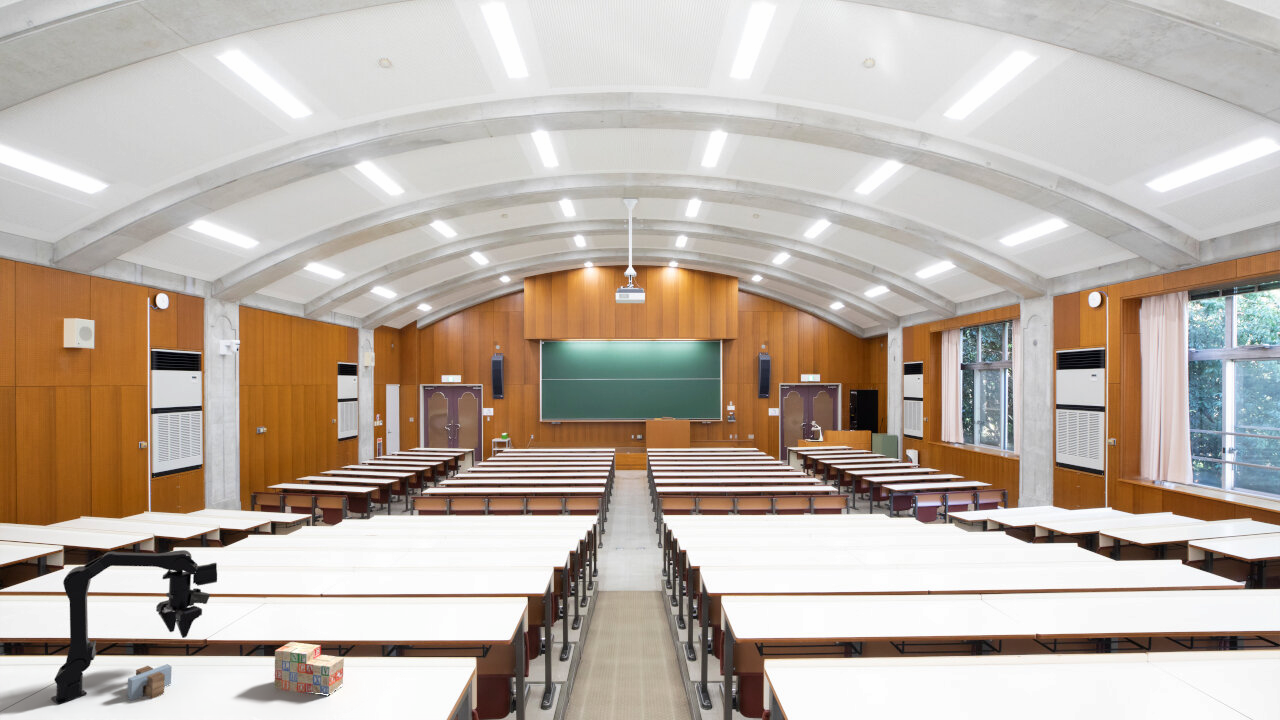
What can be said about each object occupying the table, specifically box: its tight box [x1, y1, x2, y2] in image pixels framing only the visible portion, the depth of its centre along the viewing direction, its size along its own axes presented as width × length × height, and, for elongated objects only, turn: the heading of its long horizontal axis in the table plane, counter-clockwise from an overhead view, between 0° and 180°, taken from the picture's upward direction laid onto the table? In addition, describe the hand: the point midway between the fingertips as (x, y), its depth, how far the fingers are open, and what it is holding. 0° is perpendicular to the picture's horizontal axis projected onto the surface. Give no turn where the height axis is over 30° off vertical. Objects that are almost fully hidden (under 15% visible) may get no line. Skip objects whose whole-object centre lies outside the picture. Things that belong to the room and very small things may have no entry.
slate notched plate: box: [126, 663, 173, 701], centre depth 176 cm, size 10×3×6 cm, turn 152°
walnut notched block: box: [135, 665, 165, 699], centre depth 176 cm, size 12×3×6 cm, turn 62°
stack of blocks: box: [274, 641, 345, 694], centre depth 178 cm, size 21×6×12 cm, turn 76°
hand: (178, 634), depth 189 cm, fingers open, 9 cm apart
